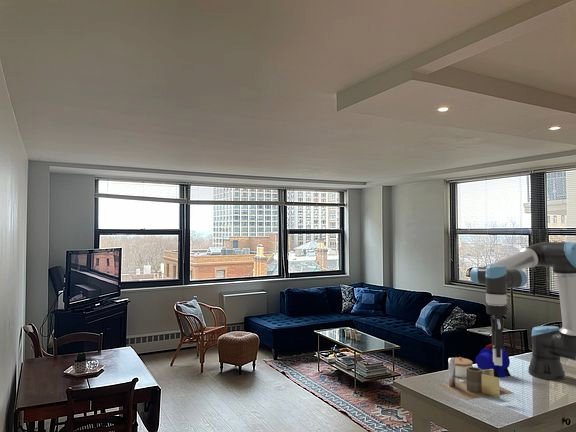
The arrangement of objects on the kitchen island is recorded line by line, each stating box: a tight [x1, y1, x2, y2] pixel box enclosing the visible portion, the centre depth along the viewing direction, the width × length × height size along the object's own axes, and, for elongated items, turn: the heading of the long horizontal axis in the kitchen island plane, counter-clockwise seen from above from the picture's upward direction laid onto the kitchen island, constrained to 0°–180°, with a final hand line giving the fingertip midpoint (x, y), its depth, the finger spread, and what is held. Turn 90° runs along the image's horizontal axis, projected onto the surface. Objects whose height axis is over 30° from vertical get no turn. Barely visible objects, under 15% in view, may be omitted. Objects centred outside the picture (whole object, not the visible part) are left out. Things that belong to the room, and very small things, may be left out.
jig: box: [438, 366, 514, 400], centre depth 184 cm, size 24×18×10 cm
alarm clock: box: [475, 343, 511, 379], centre depth 207 cm, size 12×12×15 cm
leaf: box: [482, 374, 501, 398], centre depth 175 cm, size 7×1×8 cm, turn 41°
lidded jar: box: [454, 356, 474, 378], centre depth 202 cm, size 11×11×9 cm
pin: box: [447, 357, 457, 387], centre depth 186 cm, size 3×3×12 cm
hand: (497, 363), depth 168 cm, fingers open, 3 cm apart
